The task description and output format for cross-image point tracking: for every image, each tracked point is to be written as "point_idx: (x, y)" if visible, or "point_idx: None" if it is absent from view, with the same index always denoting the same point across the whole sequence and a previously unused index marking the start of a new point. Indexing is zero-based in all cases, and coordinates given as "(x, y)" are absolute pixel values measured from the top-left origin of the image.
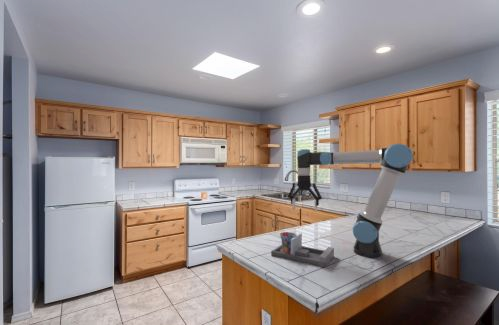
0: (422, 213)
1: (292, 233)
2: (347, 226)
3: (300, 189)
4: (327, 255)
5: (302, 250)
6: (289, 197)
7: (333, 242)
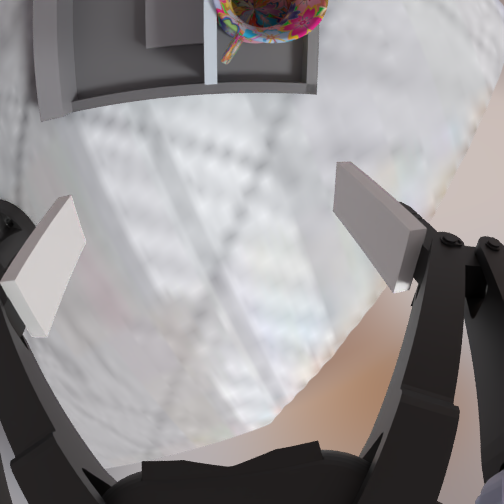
0: None
1: (257, 35)
2: (187, 423)
3: (353, 462)
4: (33, 9)
5: (175, 21)
6: (476, 246)
7: (138, 279)
